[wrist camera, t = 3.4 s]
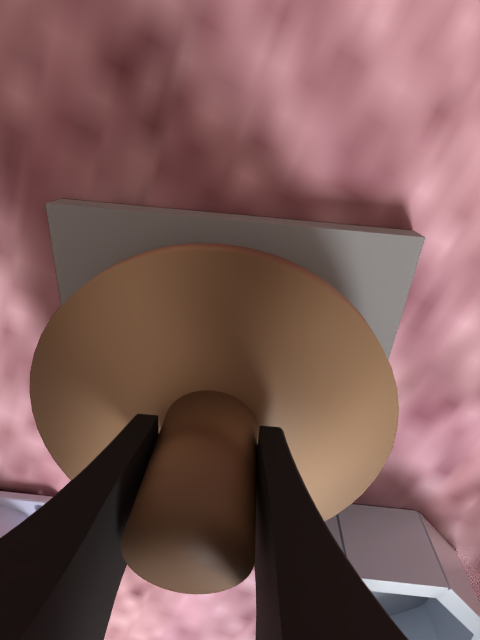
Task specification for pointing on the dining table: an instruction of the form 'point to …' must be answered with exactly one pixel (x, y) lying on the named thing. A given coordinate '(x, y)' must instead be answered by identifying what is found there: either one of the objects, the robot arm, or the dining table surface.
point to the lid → (213, 397)
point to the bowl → (409, 571)
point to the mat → (247, 231)
